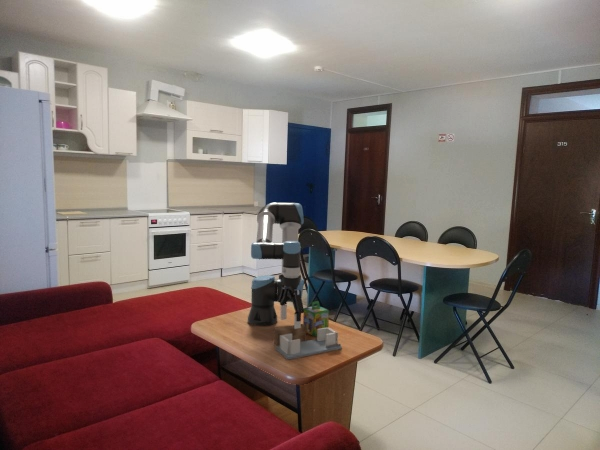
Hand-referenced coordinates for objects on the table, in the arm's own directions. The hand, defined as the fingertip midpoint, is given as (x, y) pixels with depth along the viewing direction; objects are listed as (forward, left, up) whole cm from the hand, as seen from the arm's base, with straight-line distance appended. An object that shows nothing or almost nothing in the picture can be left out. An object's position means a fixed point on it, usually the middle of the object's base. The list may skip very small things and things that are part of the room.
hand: (290, 323), depth 178 cm
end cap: (+10, +14, -8) cm, 18 cm away
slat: (0, 0, -9) cm, 9 cm away
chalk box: (-6, +17, -9) cm, 21 cm away
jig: (+10, +4, -9) cm, 14 cm away
